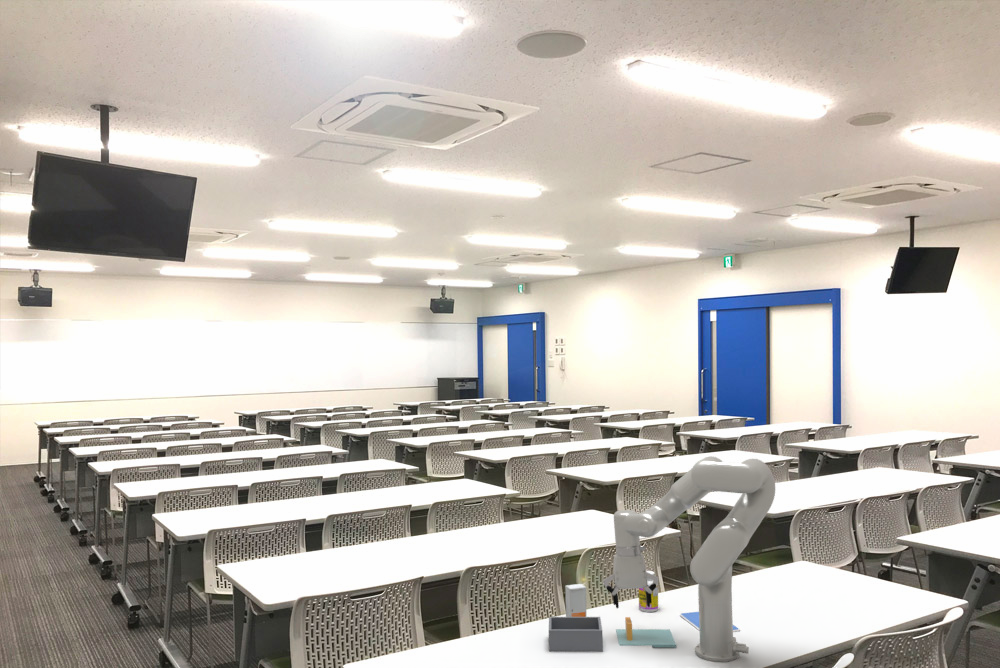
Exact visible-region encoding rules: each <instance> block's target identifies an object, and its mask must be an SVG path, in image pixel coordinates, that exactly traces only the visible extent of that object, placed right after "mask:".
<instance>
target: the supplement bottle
mask: <svg viewBox="0 0 1000 668" xmlns="http://www.w3.org/2000/svg"><path fill="white" fill-rule="evenodd" d="M646 572H648V573H650V574H652V575H654V576H656V574H655V572H654V571H652V570H646ZM652 583H653V580H652V579H650V578H648V577H647V585H648V586H650V585H651V584H652ZM658 583H659V582H658ZM658 583H657V585H656V588H655V589H654V590H653V591H652V593H651V600H652V603H650V607H648V606H647V603H646V590H645V589H644V588H638V609H639V610H640V611H642V612H644V613H655V612H657V611H658V610H659V587H658V585H659V584H658Z"/></svg>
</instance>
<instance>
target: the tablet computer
mask: <svg viewBox="0 0 1000 668" xmlns="http://www.w3.org/2000/svg"><path fill="white" fill-rule="evenodd" d="M679 617H681V618H682V619H683V620H685V621H686V622H687V623H688V624H690V625H691V626H692V627H694V628H695V629H696V630H698V631H699V632H700V629H699V611H692V612H681V613H679ZM740 632H741V629H740V628H739V627H737V626H736V625H734V624H733V633H740Z"/></svg>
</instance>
